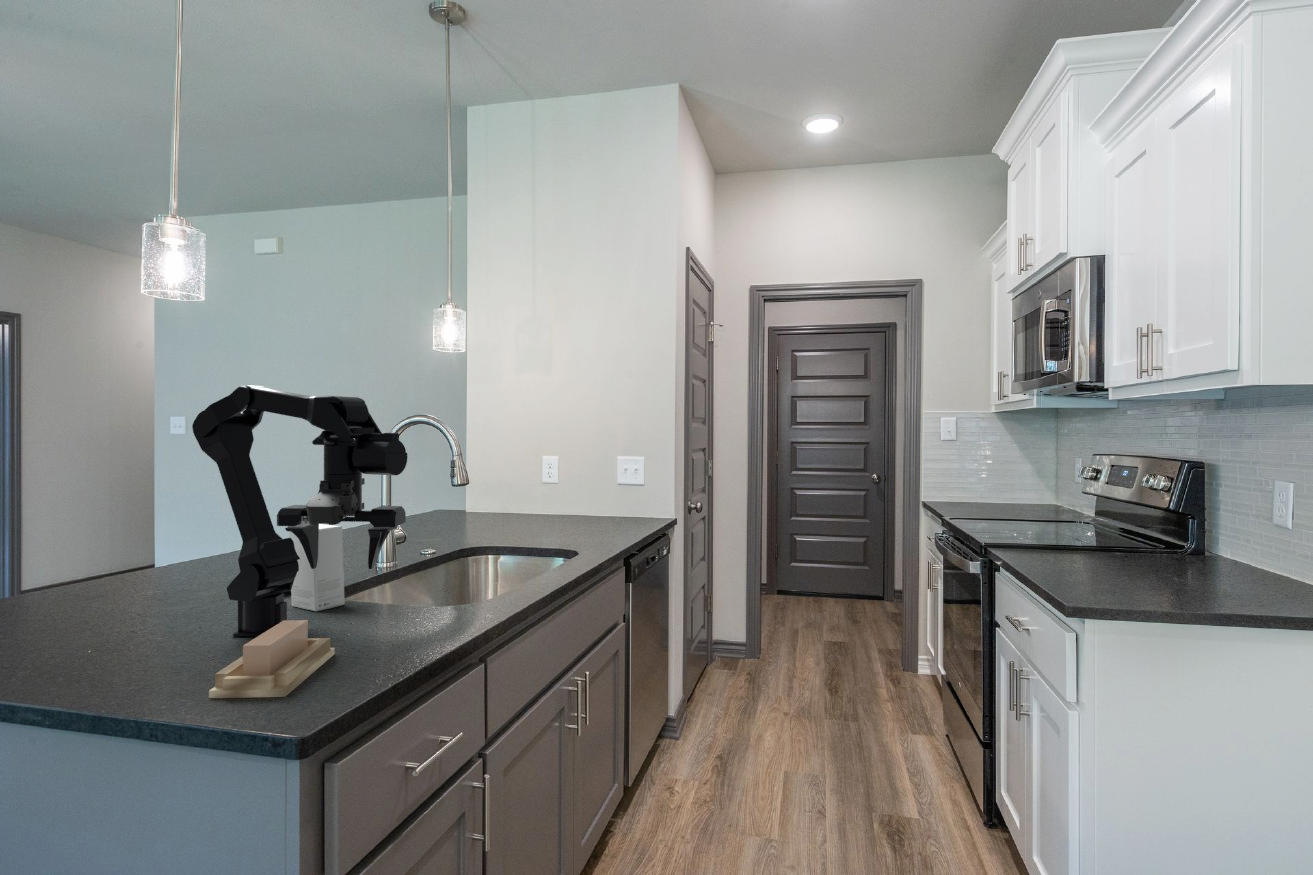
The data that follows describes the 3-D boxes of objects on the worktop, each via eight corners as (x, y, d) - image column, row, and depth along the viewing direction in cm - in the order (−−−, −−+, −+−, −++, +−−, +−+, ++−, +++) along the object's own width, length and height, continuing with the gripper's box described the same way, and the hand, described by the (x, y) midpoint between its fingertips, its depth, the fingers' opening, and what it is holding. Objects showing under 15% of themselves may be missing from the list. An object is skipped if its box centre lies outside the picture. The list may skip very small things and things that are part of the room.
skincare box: (345, 605, 137) (345, 526, 137) (313, 612, 132) (313, 530, 131) (320, 599, 142) (320, 522, 142) (288, 606, 136) (288, 526, 136)
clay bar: (242, 682, 94) (242, 645, 94) (283, 653, 106) (283, 620, 106) (270, 682, 94) (270, 645, 94) (307, 653, 106) (307, 620, 106)
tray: (208, 698, 91) (208, 676, 91) (270, 654, 108) (270, 636, 108) (285, 696, 92) (285, 675, 92) (334, 653, 109) (334, 635, 109)
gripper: (258, 476, 106) (258, 579, 107) (383, 478, 107) (382, 580, 107) (294, 471, 117) (293, 564, 118) (406, 472, 118) (406, 565, 118)
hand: (342, 568), depth 115 cm, fingers open, 9 cm apart
